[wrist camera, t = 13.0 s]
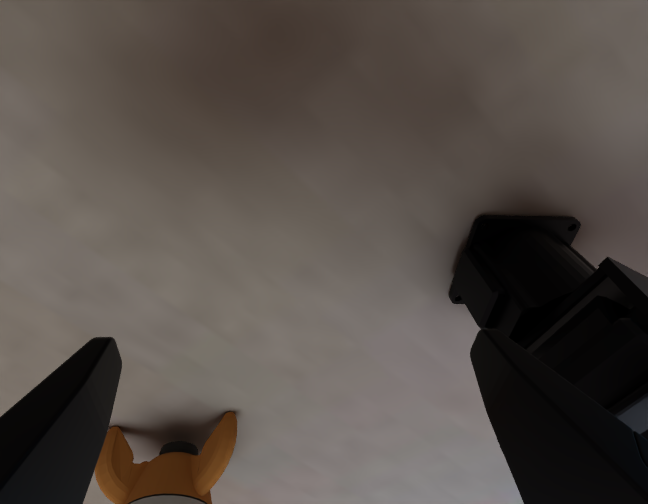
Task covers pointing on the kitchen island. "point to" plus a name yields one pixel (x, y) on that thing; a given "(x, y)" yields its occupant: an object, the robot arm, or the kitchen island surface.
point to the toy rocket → (165, 468)
